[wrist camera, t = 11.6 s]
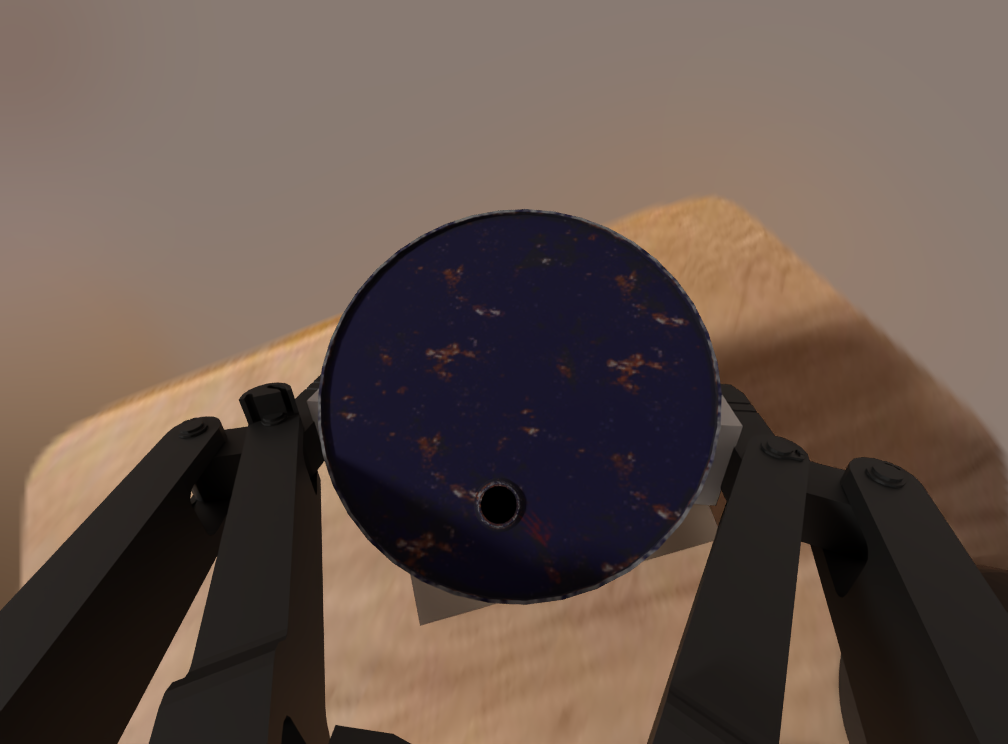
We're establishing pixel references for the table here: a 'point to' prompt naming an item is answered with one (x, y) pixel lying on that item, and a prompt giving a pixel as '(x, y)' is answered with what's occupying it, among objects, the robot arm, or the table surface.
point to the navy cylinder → (519, 406)
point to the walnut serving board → (443, 604)
